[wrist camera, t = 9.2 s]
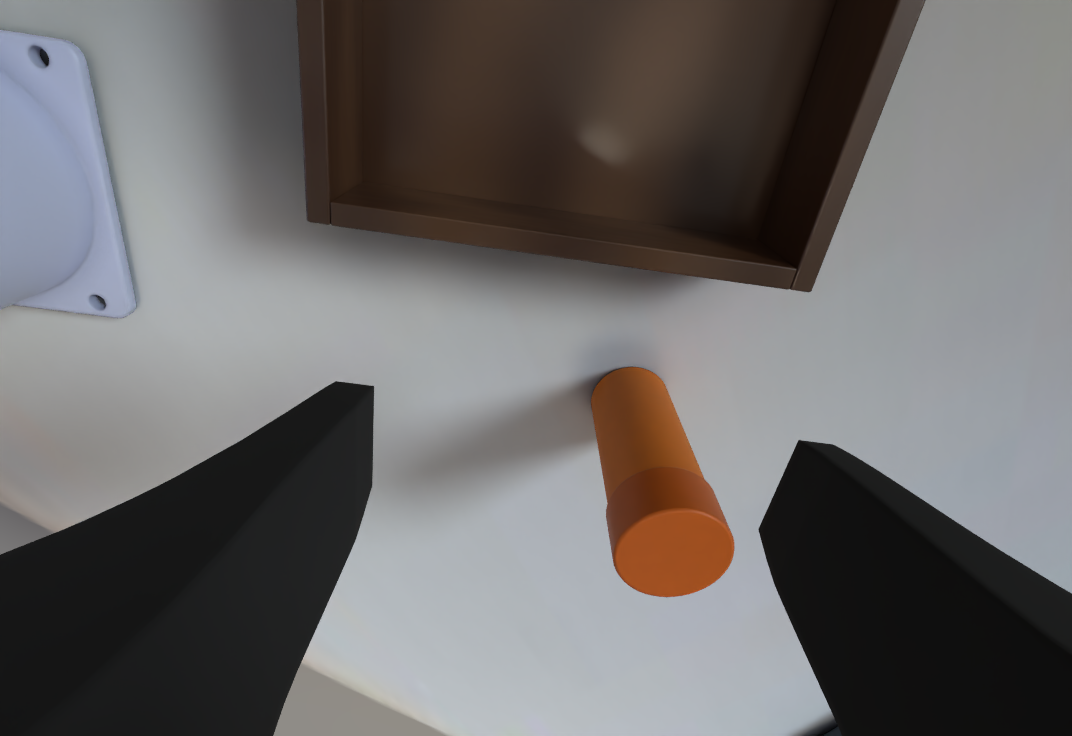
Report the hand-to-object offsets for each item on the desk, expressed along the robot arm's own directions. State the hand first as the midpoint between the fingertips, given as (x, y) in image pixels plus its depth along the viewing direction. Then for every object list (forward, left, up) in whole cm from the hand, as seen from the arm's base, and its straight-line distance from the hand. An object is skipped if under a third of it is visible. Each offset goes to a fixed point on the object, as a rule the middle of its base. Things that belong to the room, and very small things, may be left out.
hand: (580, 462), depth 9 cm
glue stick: (+3, -4, -10) cm, 11 cm away
